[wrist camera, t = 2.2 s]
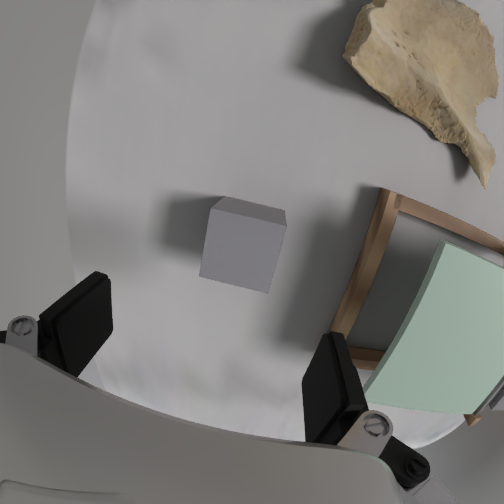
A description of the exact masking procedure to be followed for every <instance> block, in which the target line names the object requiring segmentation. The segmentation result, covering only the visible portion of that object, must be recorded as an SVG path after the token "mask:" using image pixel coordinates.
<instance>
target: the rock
mask: <svg viewBox="0 0 504 504" xmlns="http://www.w3.org/2000/svg"><path fill="white" fill-rule="evenodd" d="M493 41H494V37H493V36H492V35H491V34H490V33H489V30H488V28H487V26H486V25H485V24H484V23H483V22H482V21H481V18H480V15H479V13H478V12H476V11H475V10H472V9H470V8H469V7H467V6H466V5H465V4H463V3H461V2H459V1H457V0H372V2H371V3H370V4H366V5H364V6H363V7H362V8H361V11H360V13H359V14H358V15H357V17H356V19H355V24H354V26H353V30H352V32H351V35H350V37H349V39H348V42H347V43H346V45H345V52H344V54H343V55H342V57H343V58H344V59H345V60H346V61H347V62H348V63H349V64H350V66H351V67H352V68H353V69H354V70H355V71H356V72H357V73H358V75H359V76H360V77H361V78H362V79H363V80H364V81H365V82H366V83H367V84H369V85H370V86H371V87H372V88H373V89H374V90H375V91H377V92H378V93H379V94H380V95H382V96H383V97H384V98H385V99H386V100H387V101H388V102H389V103H390V104H391V105H393V106H394V107H396V108H397V109H398V110H399V111H401V112H403V113H405V114H406V115H408V116H410V117H412V118H413V119H414V120H416V121H418V122H420V123H422V124H424V125H425V126H426V127H427V128H428V129H429V130H431V131H432V132H433V134H434V136H435V138H437V139H438V140H439V141H440V142H444V143H454V144H456V145H458V146H459V147H461V150H462V152H463V153H464V154H465V155H466V157H467V158H468V159H469V162H470V164H471V167H472V169H473V171H474V172H475V173H476V175H477V176H478V178H479V179H480V182H481V184H482V186H483V187H484V188H485V190H486V191H487V181H488V178H489V173H490V171H491V169H492V167H493V165H494V164H495V162H496V151H495V149H494V148H493V147H492V145H491V144H490V142H489V141H488V140H487V137H486V136H485V134H483V133H481V132H480V131H479V130H478V129H477V127H476V121H475V119H474V117H475V116H476V114H477V112H476V106H477V105H479V104H480V103H482V102H483V101H484V100H485V99H486V98H487V97H492V98H495V99H496V96H497V91H498V85H499V76H498V74H497V70H496V63H495V49H494V46H493Z"/></svg>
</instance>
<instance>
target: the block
mask: <svg viewBox="0 0 504 504" xmlns="http://www.w3.org/2000/svg"><path fill="white" fill-rule="evenodd" d="M286 227H287V225H286V217H285V210H281V209H277V208H273V207H269V206H265V205H261V204H256V203H252V202H248V201H244V200H239V199H235V198H230V197H226V196H224V197H223V198H222V199H221V200H220V201H218V202H217V203H216V204H215V205H214V206H213V207H211V209H210V214H209V220H208V225H207V231H206V237H205V242H204V248H203V254H202V261H201V267H200V273H199V276H200V277H204V278H207V279H211V280H215V281H219V282H223V283H227V284H231V285H235V286H239V287H244V288H248V289H252V290H256V291H260V292H265V293H268V291H269V287H270V284H271V281H272V277H273V274H274V270H275V267H276V263H277V259H278V256H279V252H280V249H281V245H282V241H283V238H284V234H285V231H286Z"/></svg>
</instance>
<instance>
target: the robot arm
mask: <svg viewBox="0 0 504 504" xmlns="http://www.w3.org/2000/svg"><path fill="white" fill-rule="evenodd" d="M39 318H40V320H38V321H36V320H35V319H34V318H32V317H30V316H19V317H16V318H14V319H13V320H12V321H11V322H10V323H9V325H8V328H7V331H0V504H459V503H458V502H457V500H456V499H455V498H454V497H453V496H452V494H451V493H450V492H449V491H448V490H447V489H446V488H445V487H444V486H443V485H442V484H441V482H440V481H439V480H438V479H437V478H436V477H435V476H433V477H431V476H430V475H429V474H430V465H429V462H428V461H427V460H426V458H424V457H423V456H422V455H420V454H419V453H417V452H416V451H414V450H413V449H411V448H410V447H408V446H407V445H405V444H404V443H402V442H401V441H399V440H398V439H396V438H395V437H393V436H392V432H393V425H392V422H391V420H390V419H389V418H388V417H387V416H386V415H385V414H383V413H381V412H379V411H375V410H369V409H368V405H367V402H366V398H365V395H364V392H363V388H362V385H361V382H360V378H359V375H358V372H357V369H356V367H355V365H353V362H352V359H351V356H350V353H349V350H348V347H347V344H346V340H345V337H344V335H343V333H339V332H334V331H329V332H328V334H324V335H323V337H322V339H321V341H320V343H319V345H318V347H317V350H316V352H315V354H314V356H313V358H312V360H311V362H310V364H309V366H308V368H307V371H306V373H305V375H304V377H303V379H302V394H303V408H304V423H305V440H306V442H300V441H290V440H282V439H275V438H268V437H261V436H255V435H249V434H244V433H238V432H233V431H228V430H224V429H219V428H215V427H211V426H207V425H203V424H199V423H195V422H191V421H188V420H184V419H181V418H177V417H174V416H171V415H168V414H164V413H161V412H158V411H155V410H152V409H150V408H147V407H144V406H141V405H139V404H136V403H133V402H131V401H128V400H126V399H123V398H121V397H118V396H116V395H113V394H111V393H109V392H106V391H104V390H102V389H100V388H98V387H95V386H93V385H91V384H89V383H87V382H85V381H83V380H81V379H79V378H77V377H78V376H79V375H80V373H81V372H82V371H83V369H84V368H85V367H86V365H87V364H88V363H89V362H90V360H91V359H92V358H93V356H94V355H95V354H96V353H97V351H98V350H99V349H100V348H101V346H102V345H103V344H104V343H105V341H106V340H107V339H108V338H109V336H110V335H111V334H112V331H113V319H112V303H111V281H110V279H108V276H107V275H106V274H103V273H100V272H97V271H95V272H93V273H92V274H91V275H89V276H88V277H87V278H85V279H84V280H83V281H81V282H80V283H79V284H77V285H76V286H75V287H74V288H72V289H71V290H70V291H68V292H67V293H66V294H65V295H63V296H62V297H61V298H60V299H59V300H57V301H56V302H55V303H54V304H52V305H51V306H50V307H49V308H48V309H46V310H45V311H44V312H43V313H42V314H40V315H39Z"/></svg>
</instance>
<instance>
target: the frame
mask: <svg viewBox="0 0 504 504" xmlns="http://www.w3.org/2000/svg"><path fill="white" fill-rule="evenodd" d="M398 211H402V212H405V213H408V214H410V215H413V216H416V217H418V218H421V219H423V220H426V221H429V222H431V223H434V224H436V225H439V226H441V227H443V228H446V229H448V230H451V231H453V232H455V233H458V234H460V235H462V236H464V237H467V238H469V239H471V240H473V241H476V242H478V243H480V244H482V245H484V246H486V247H488V248H490V249H492V250H495V251H497V252H499V253H501V254H503V255H504V242H502V241H500V240H499V239H497V238H495V237H493V236H491V235H489V234H487V233H485V232H484V231H482V230H480V229H478V228H476V227H474V226H472V225H470V224H467V223H465V222H463V221H461V220H459V219H457V218H455V217H453V216H450V215H448V214H446V213H444V212H442V211H439V210H437V209H435V208H432V207H430V206H428V205H425V204H423V203H420V202H418V201H415V200H413V199H410V198H408V197H405V196H403V195H400V194H398V193H395V192H392V191H389V190H387V189H384V188H381V191H380V194H379V198H378V201H377V204H376V208H375V211H374V214H373V217H372V220H371V223H370V226H369V229H368V232H367V235H366V238H365V241H364V244H363V247H362V250H361V253H360V255H359V258H358V261H357V263H356V266H355V269H354V271H353V274H352V277H351V279H350V282H349V284H348V287H347V289H346V292H345V294H344V296H343V299H342V301H341V304H340V306H339V308H338V311H337V313H336V315H335V318H334V320H333V322H332V324H331V327H330V329H329V331H334V332H339V333H343V335H344V337H345V340H346V338H347V336H348V334H349V332H350V330H351V328H352V326H353V324H354V322H355V320H356V318H357V316H358V313H359V311H360V309H361V307H362V305H363V302H364V300H365V298H366V296H367V293H368V291H369V289H370V286H371V284H372V282H373V279H374V277H375V274H376V272H377V269H378V267H379V264H380V262H381V259H382V257H383V254H384V251H385V249H386V246H387V243H388V240H389V238H390V235H391V232H392V229H393V226H394V223H395V220H396V217H397V214H398ZM329 331H328V332H329ZM327 334H328V333H327ZM347 347H348V350H349V353H350V356H351V359H352V362H353V365H355V367H356V368H359V369H369V370H375V369H376V367H377V366H378V364H379V362H380V361H381V359H382V358H383V356H384V354H385V353H386V351H378V350H371V349H363V348H356V347H350V346H347ZM503 386H504V376H503V377H502V378H501V380H500V381H499V382H498V384H497V385H496V386H495V387H494V389H493V390H492V391H491V392H490V394H489V395H488V396H487V397H486V398H485V400H484V401H483V402H482V403H481V404H480V405H479V407H478V408H477V409H476V410H475V411H474V412H473V413H472V414H463V415H464V417H465V419H466V421H467V423H468V425H469V426H472V425H475V424H476V423H477V422H478V421H479V420H480V419H481V416H480V414H481V412H482V411H483V410H484V409H485V408H486V407H487V406H488V405H489V404H490V402H491V401H492V400H493V399H494V398H495V396H496V395H497V394H498V393H499V391H500V390H501V389H502V388H503Z"/></svg>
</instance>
